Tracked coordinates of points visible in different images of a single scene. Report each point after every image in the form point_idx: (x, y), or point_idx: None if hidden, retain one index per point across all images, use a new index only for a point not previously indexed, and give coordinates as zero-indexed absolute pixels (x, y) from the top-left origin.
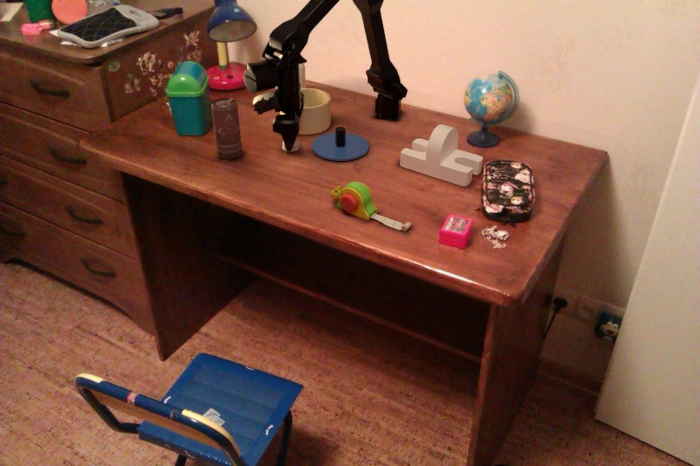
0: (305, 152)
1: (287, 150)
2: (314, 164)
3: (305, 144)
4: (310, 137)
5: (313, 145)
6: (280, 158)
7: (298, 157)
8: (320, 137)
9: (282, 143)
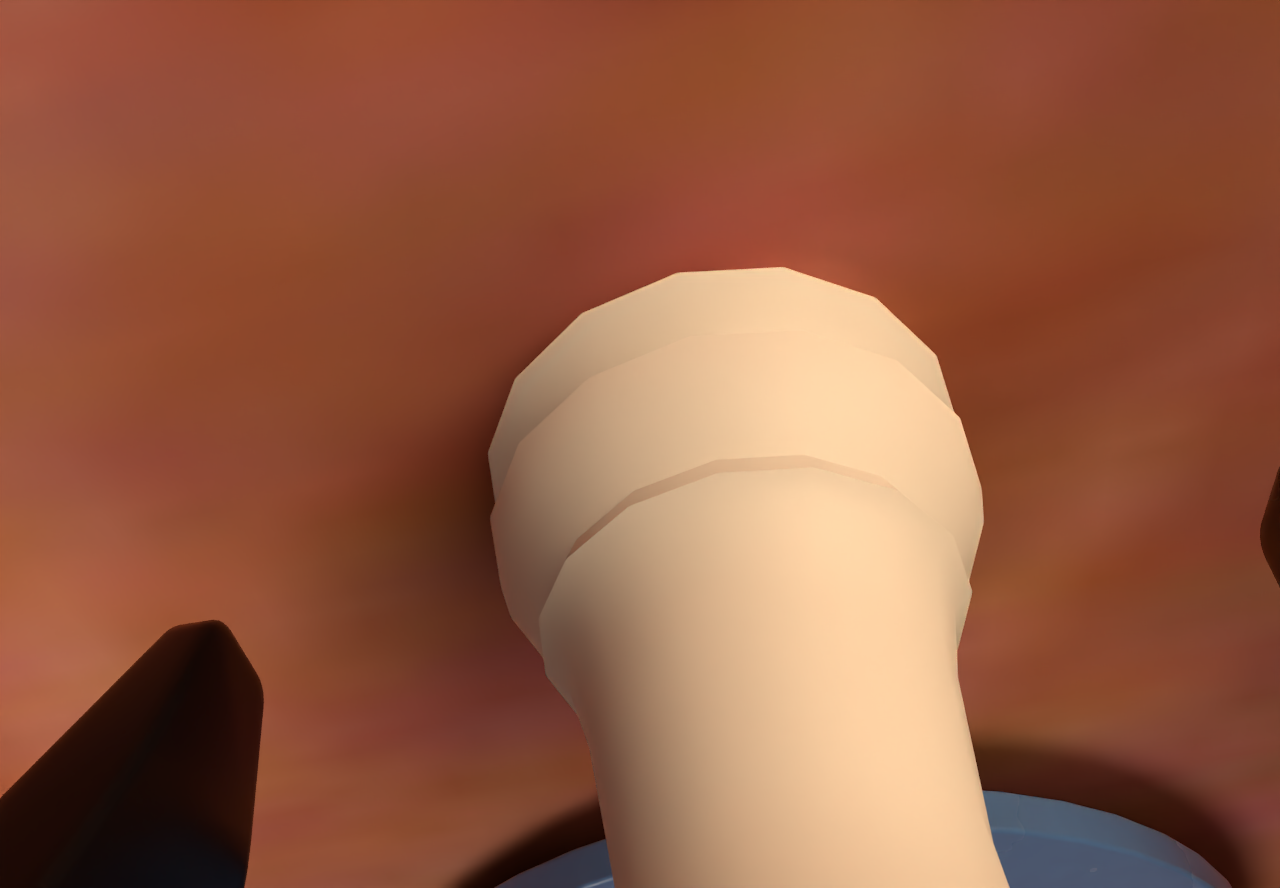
0: None
1: (168, 651)
2: None
3: None
4: (1276, 642)
5: None
6: (113, 344)
7: (348, 654)
8: (1096, 877)
9: (668, 370)
